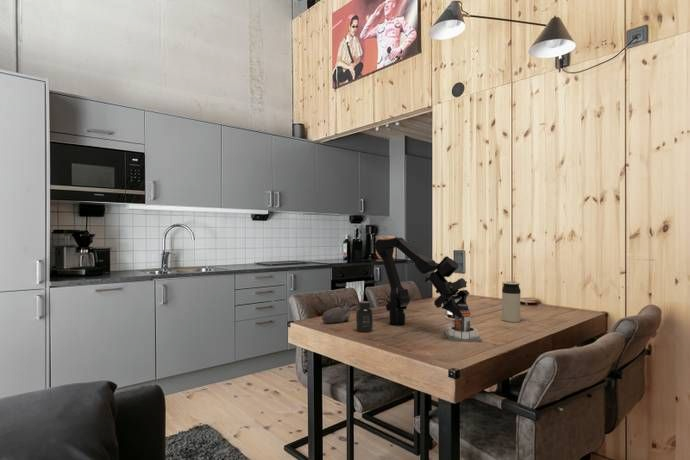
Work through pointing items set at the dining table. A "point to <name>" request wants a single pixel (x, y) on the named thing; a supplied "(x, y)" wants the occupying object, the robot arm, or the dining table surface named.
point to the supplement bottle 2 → (462, 318)
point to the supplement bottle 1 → (364, 317)
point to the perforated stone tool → (336, 315)
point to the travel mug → (511, 301)
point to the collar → (463, 335)
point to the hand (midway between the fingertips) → (465, 315)
